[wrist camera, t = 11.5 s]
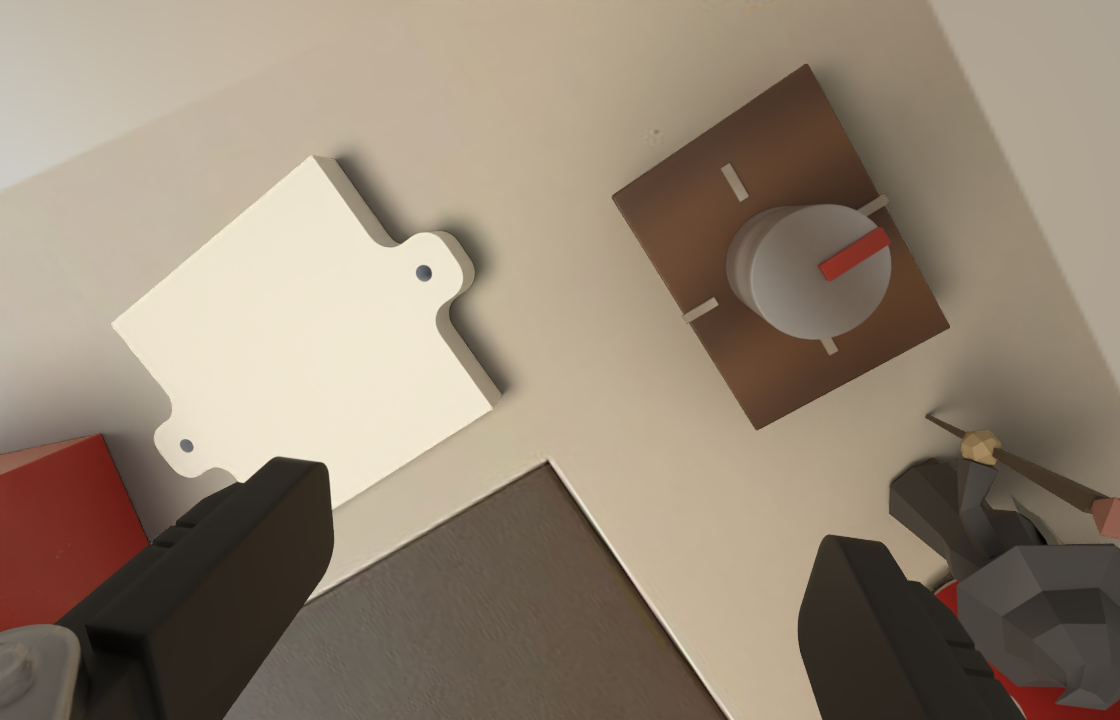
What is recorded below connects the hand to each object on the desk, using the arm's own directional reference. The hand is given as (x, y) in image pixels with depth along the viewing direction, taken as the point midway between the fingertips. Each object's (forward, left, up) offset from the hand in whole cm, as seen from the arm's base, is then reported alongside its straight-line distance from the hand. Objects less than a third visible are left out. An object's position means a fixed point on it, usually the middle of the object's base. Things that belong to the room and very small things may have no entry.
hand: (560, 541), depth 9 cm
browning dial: (-2, +7, -14) cm, 16 cm away
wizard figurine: (+9, +12, -17) cm, 23 cm away
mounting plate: (-2, -14, -17) cm, 22 cm away
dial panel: (-2, +7, -17) cm, 19 cm away
